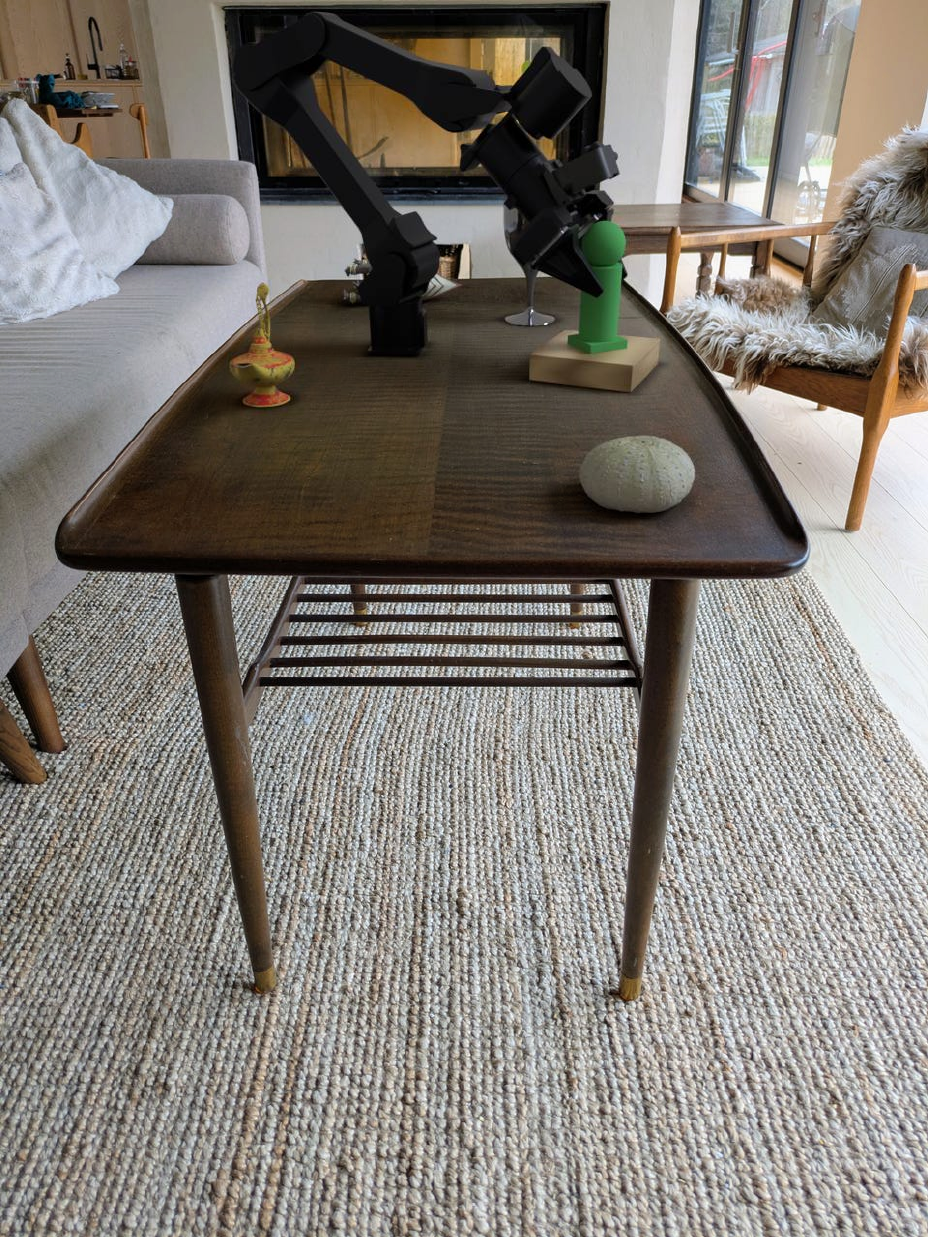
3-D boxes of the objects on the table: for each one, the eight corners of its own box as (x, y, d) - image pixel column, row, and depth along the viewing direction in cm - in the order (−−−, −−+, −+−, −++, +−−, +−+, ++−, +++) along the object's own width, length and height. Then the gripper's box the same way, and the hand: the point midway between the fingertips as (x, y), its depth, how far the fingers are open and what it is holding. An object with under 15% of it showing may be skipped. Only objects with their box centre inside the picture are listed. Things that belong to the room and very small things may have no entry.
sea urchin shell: (560, 457, 78) (630, 390, 75) (618, 513, 81) (687, 451, 79) (581, 500, 70) (660, 427, 67) (644, 561, 73) (722, 493, 71)
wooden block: (529, 380, 104) (529, 353, 102) (563, 353, 113) (564, 329, 111) (630, 392, 99) (633, 365, 98) (658, 363, 109) (660, 338, 107)
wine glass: (567, 316, 129) (573, 202, 121) (541, 328, 123) (545, 209, 116) (519, 310, 133) (521, 198, 125) (491, 321, 127) (492, 205, 119)
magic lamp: (216, 434, 89) (197, 320, 84) (246, 380, 105) (232, 280, 99) (285, 433, 89) (272, 319, 84) (305, 379, 105) (295, 279, 99)
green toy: (590, 353, 102) (598, 225, 95) (567, 343, 106) (573, 219, 99) (627, 348, 104) (637, 222, 97) (603, 338, 107) (611, 216, 100)
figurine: (368, 250, 147) (470, 254, 144) (369, 290, 150) (469, 294, 147) (328, 265, 129) (442, 270, 126) (330, 309, 132) (442, 315, 129)
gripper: (544, 118, 86) (646, 248, 88) (602, 110, 101) (688, 221, 103) (470, 204, 93) (566, 323, 95) (534, 185, 108) (616, 288, 110)
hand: (613, 286), depth 101 cm, fingers open, 9 cm apart
